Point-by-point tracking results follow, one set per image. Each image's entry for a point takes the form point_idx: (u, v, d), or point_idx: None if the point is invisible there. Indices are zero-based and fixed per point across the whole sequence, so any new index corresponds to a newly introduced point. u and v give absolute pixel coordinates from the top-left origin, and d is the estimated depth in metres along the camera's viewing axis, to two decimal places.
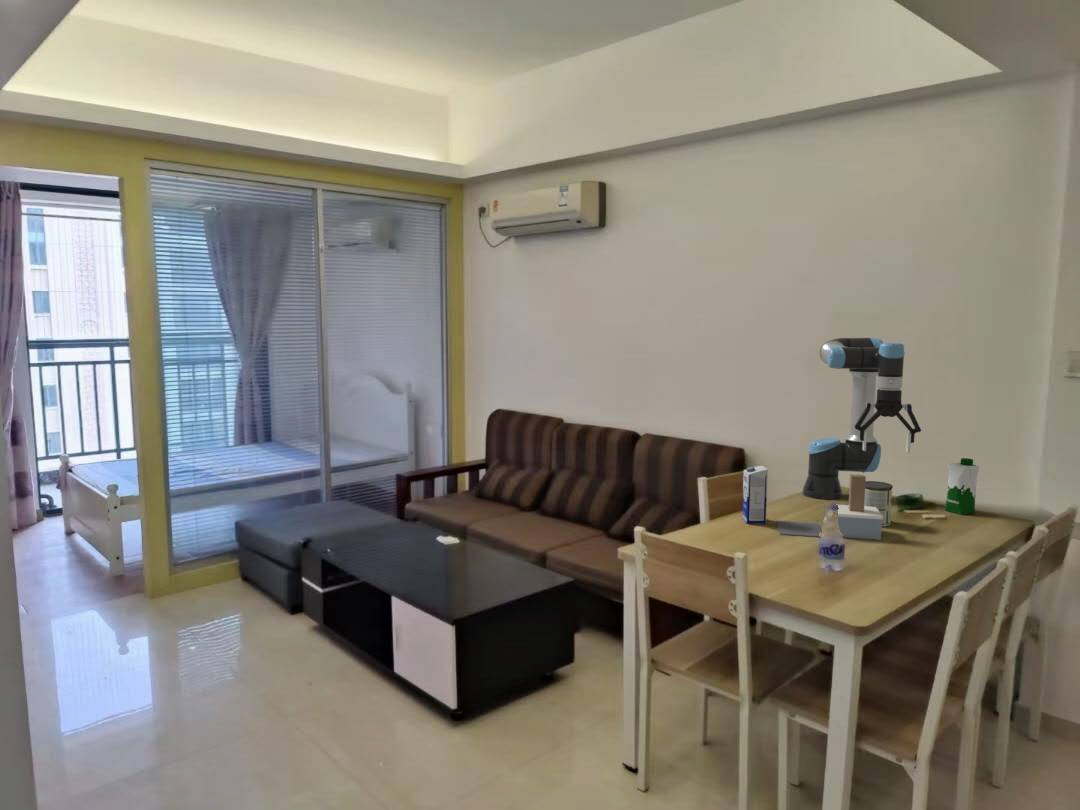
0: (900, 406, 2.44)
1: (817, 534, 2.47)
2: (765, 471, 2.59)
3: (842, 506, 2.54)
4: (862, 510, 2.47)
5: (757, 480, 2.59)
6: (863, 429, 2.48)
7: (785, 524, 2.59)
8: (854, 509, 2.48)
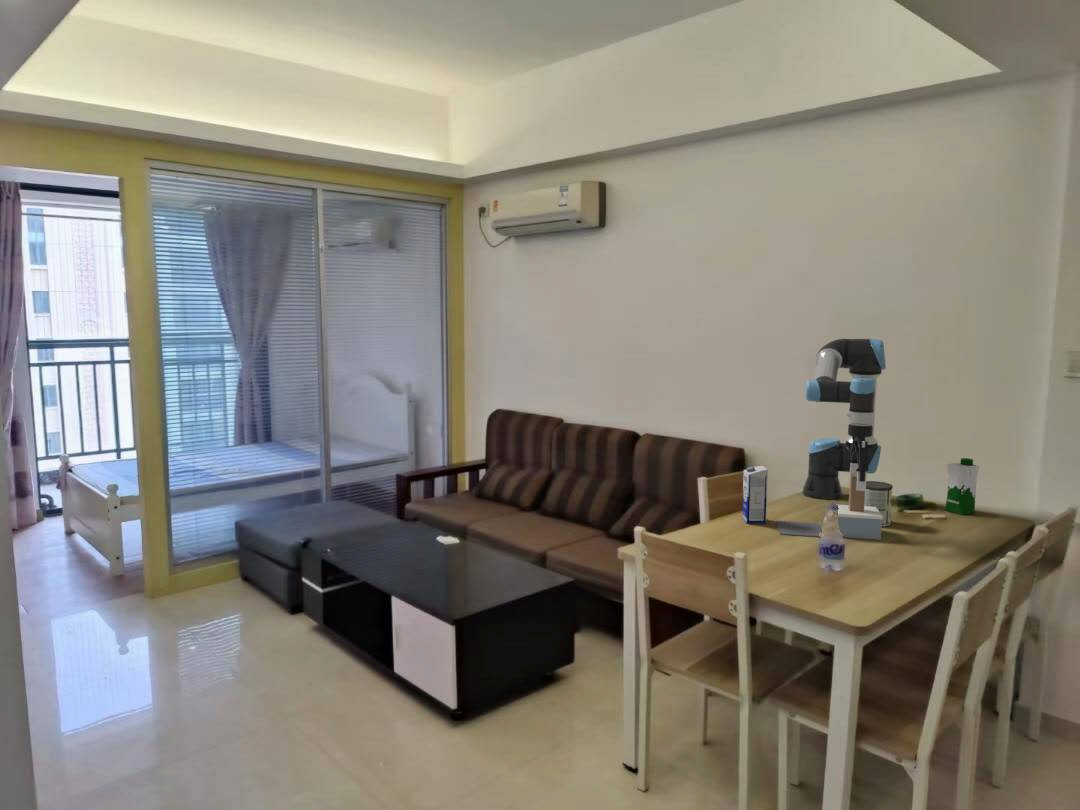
0: (858, 442, 2.43)
1: (817, 534, 2.47)
2: (765, 471, 2.59)
3: (842, 506, 2.54)
4: (862, 510, 2.47)
5: (757, 480, 2.59)
6: (850, 460, 2.55)
7: (785, 524, 2.59)
8: (854, 509, 2.48)
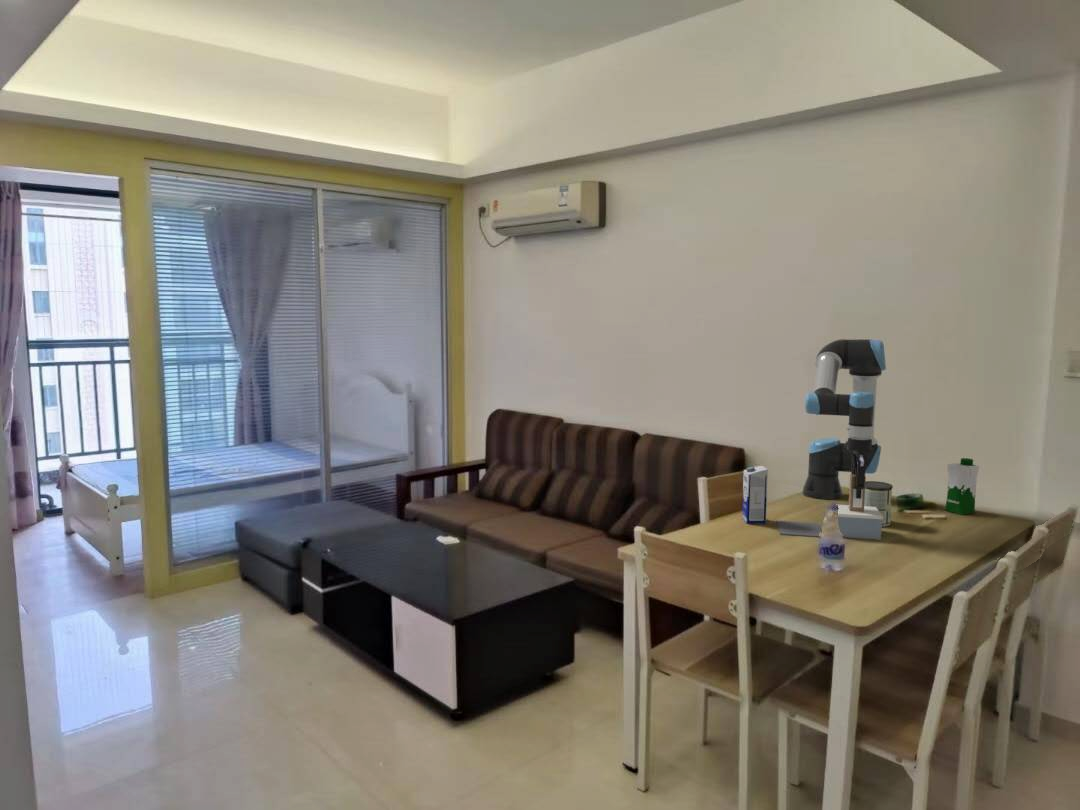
0: (857, 456, 2.44)
1: (817, 534, 2.47)
2: (765, 471, 2.59)
3: (842, 506, 2.54)
4: (862, 510, 2.47)
5: (757, 480, 2.59)
6: None
7: (785, 524, 2.59)
8: (854, 509, 2.48)
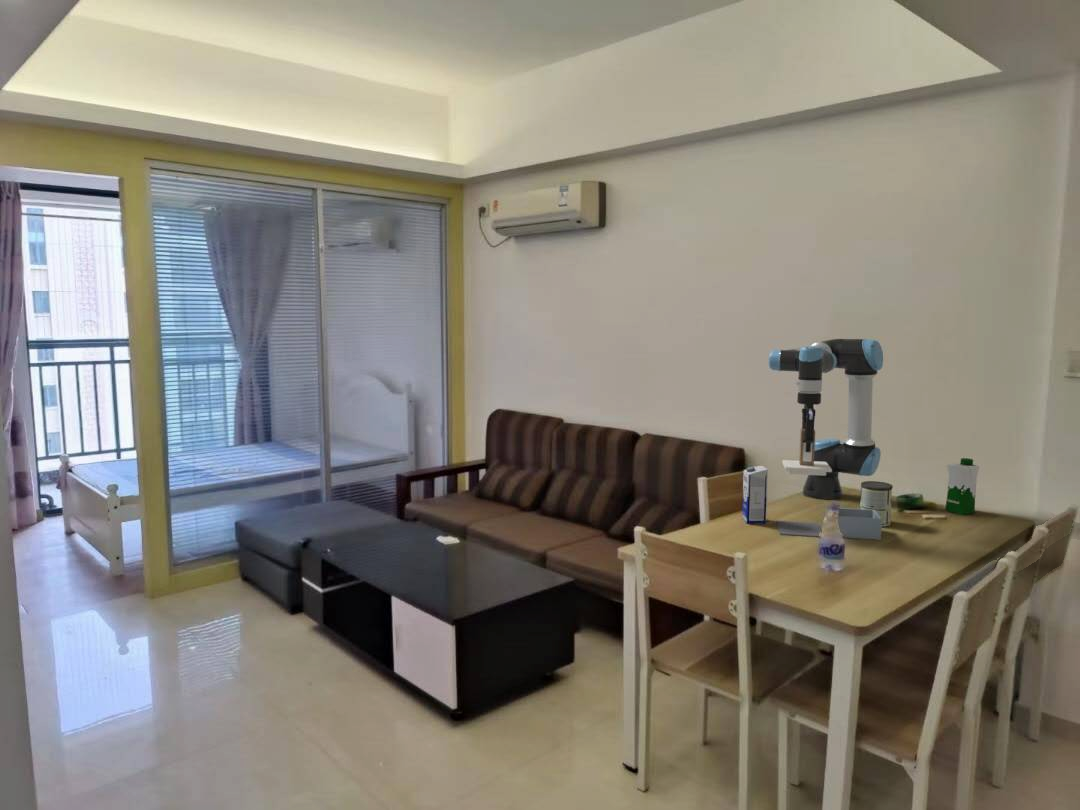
0: (806, 410, 2.46)
1: (817, 534, 2.47)
2: (765, 471, 2.59)
3: (793, 461, 2.56)
4: (812, 464, 2.49)
5: (757, 480, 2.59)
6: None
7: (785, 524, 2.59)
8: (804, 463, 2.50)
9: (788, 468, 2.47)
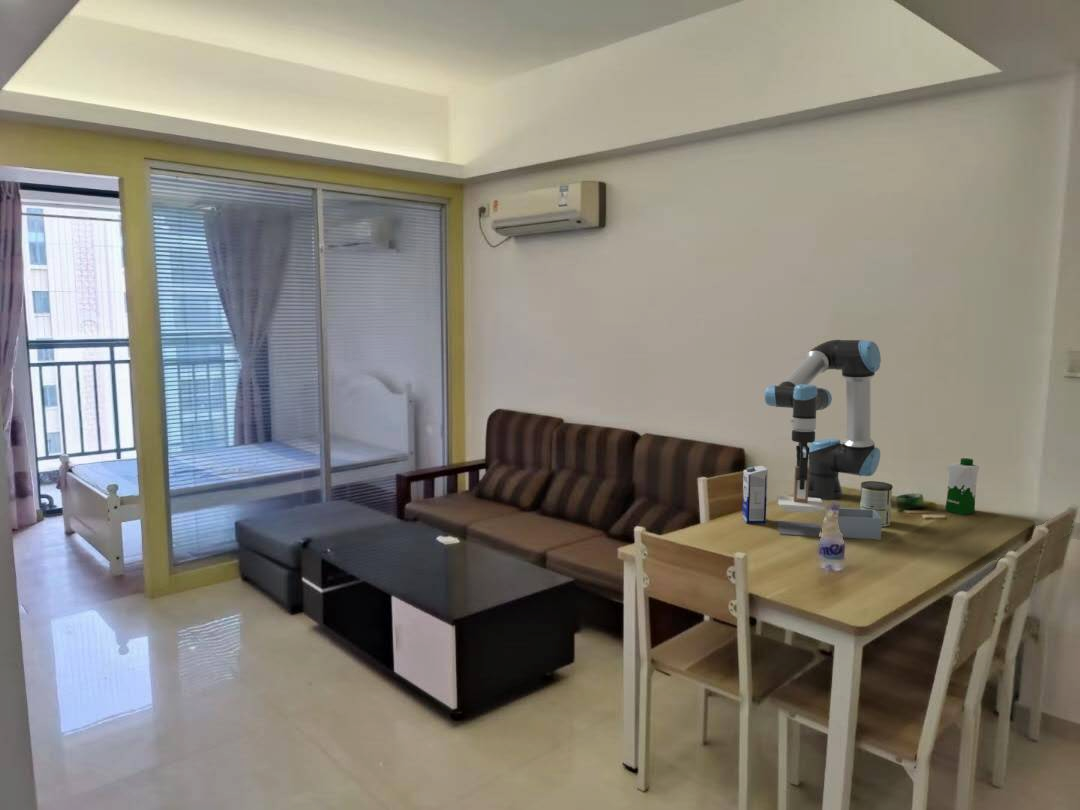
0: (800, 448, 2.48)
1: (817, 534, 2.47)
2: (765, 471, 2.59)
3: (787, 497, 2.58)
4: (806, 501, 2.51)
5: (757, 480, 2.59)
6: None
7: (785, 524, 2.59)
8: (798, 500, 2.52)
9: (782, 505, 2.49)
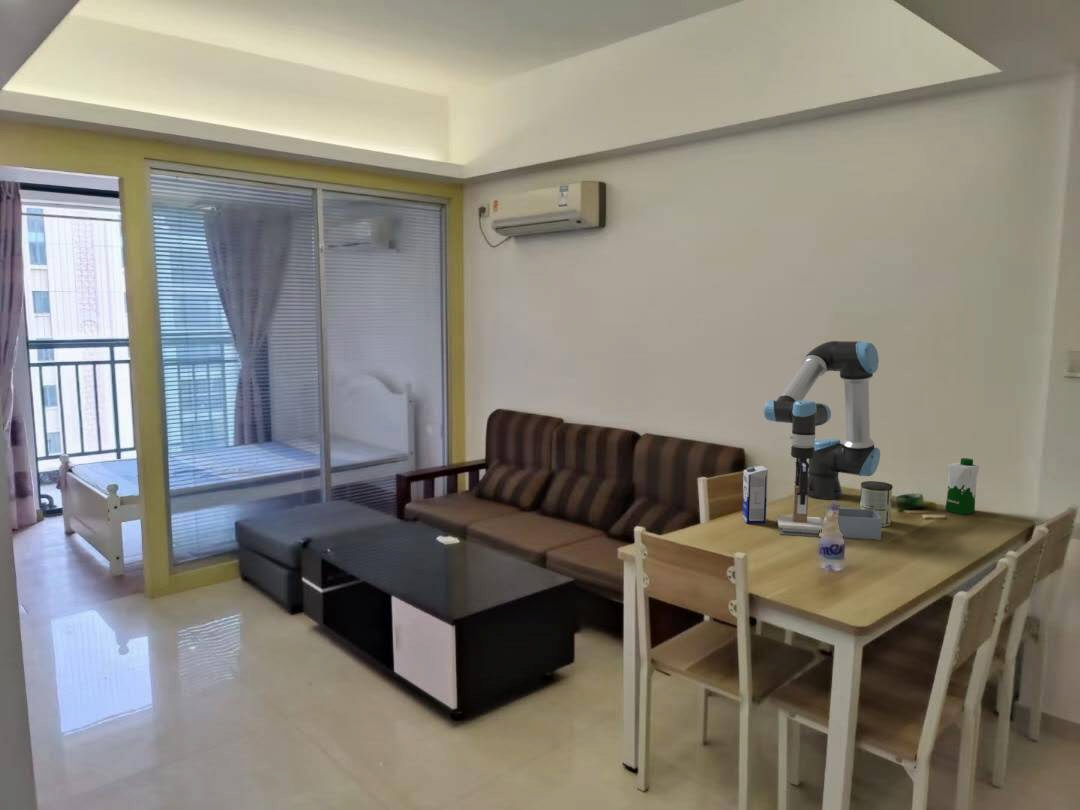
0: (799, 464, 2.48)
1: (817, 534, 2.47)
2: (765, 471, 2.59)
3: (787, 517, 2.59)
4: (805, 521, 2.52)
5: (757, 480, 2.59)
6: (795, 484, 2.59)
7: None
8: (797, 520, 2.53)
9: (781, 525, 2.50)
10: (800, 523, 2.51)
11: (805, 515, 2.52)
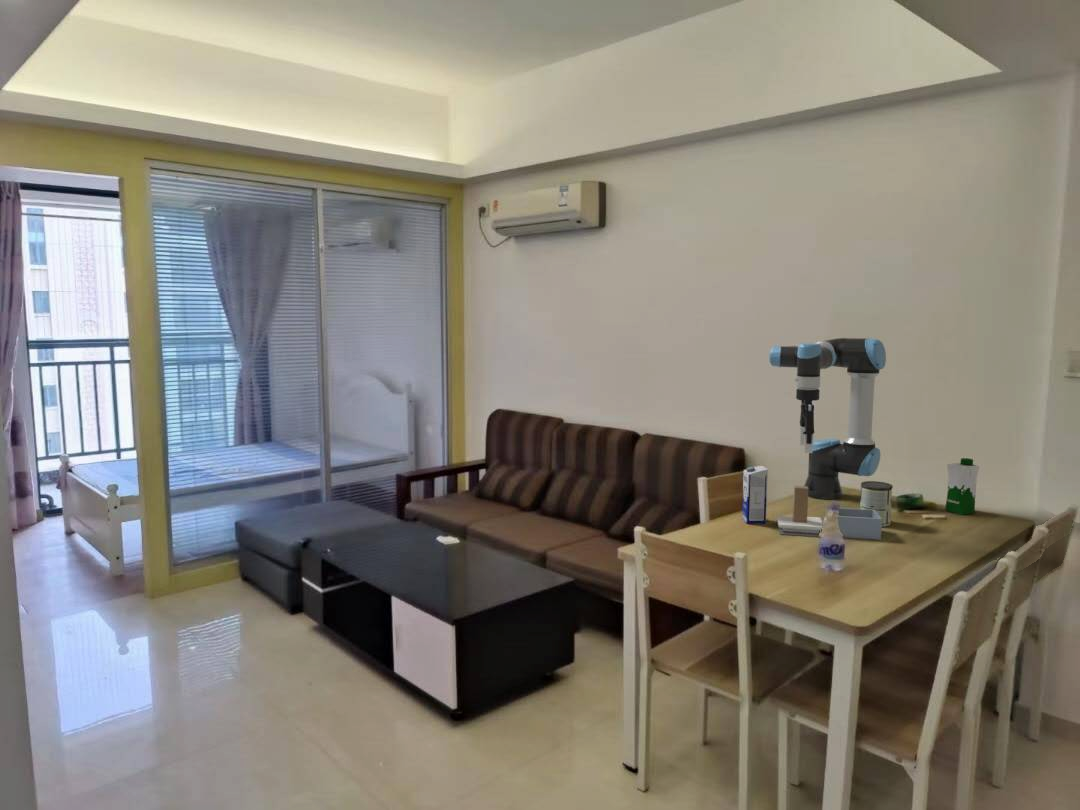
0: (805, 405, 2.50)
1: (817, 534, 2.47)
2: (765, 471, 2.59)
3: (787, 517, 2.59)
4: (805, 521, 2.52)
5: (757, 480, 2.59)
6: (800, 424, 2.61)
7: None
8: (797, 520, 2.53)
9: (781, 525, 2.50)
10: (800, 523, 2.51)
11: (805, 515, 2.52)
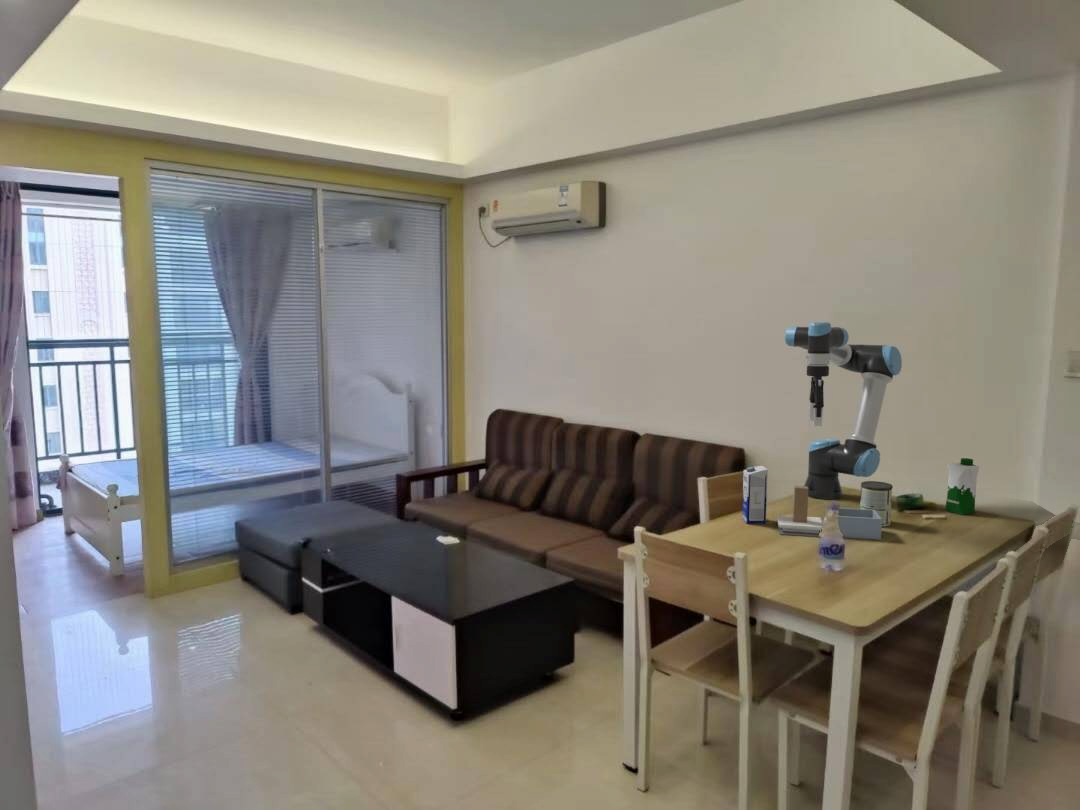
0: (815, 381, 2.62)
1: (817, 534, 2.47)
2: (765, 471, 2.59)
3: (787, 517, 2.59)
4: (805, 521, 2.52)
5: (757, 480, 2.59)
6: (810, 400, 2.74)
7: None
8: (797, 520, 2.53)
9: (781, 525, 2.50)
10: (800, 523, 2.51)
11: (805, 515, 2.52)
